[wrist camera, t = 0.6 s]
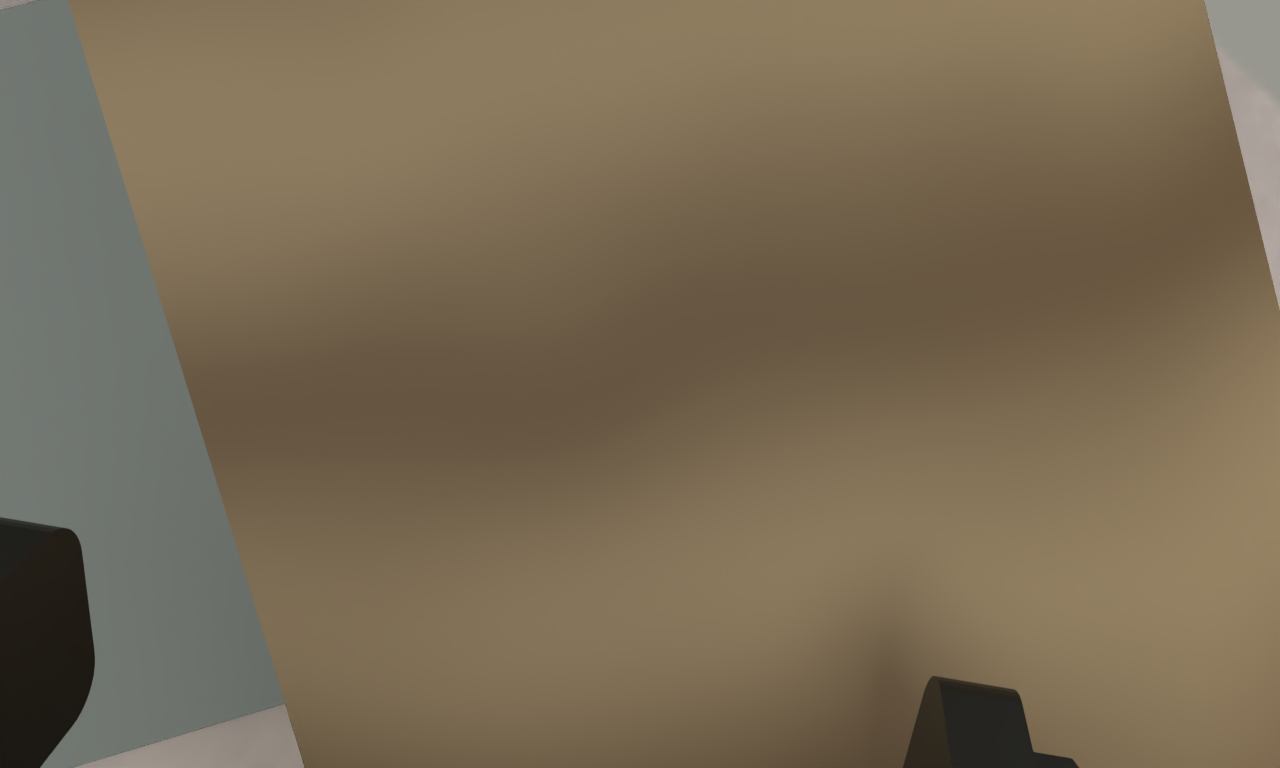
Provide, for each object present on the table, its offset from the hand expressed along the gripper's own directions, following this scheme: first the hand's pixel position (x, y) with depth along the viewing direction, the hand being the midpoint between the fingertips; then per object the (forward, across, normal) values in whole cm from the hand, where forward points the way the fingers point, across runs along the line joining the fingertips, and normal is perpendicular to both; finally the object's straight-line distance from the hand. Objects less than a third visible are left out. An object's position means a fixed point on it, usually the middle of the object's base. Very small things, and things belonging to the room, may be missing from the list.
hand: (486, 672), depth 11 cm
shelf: (+22, +2, +6) cm, 23 cm away
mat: (+19, +15, +9) cm, 26 cm away
